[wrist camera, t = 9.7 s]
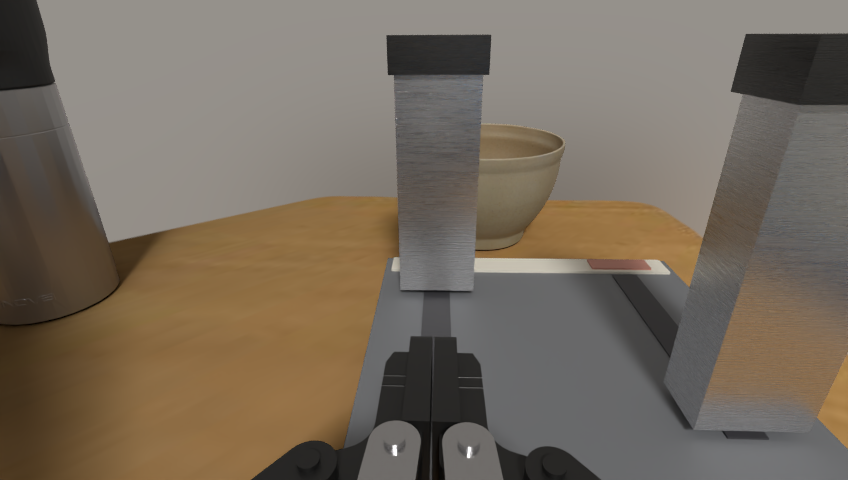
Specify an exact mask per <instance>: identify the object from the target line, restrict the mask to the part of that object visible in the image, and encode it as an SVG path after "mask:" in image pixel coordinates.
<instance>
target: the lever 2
mask: <svg viewBox="0 0 848 480" xmlns="http://www.w3.org/2000/svg"><path fill="white" fill-rule="evenodd" d="M731 92H736V93H740V94H743V96H742V100H741V103H740V107H739V111H738V114H737V118H736V122H735V125H734V129H733V133H732V136H731V140H730V143H729V147H728V151H727V154H726V158H725V162H724V165H723V169H722V173H721V176H720V179H719V183H718V187H717V190H716V194H715V198H714V201H713V205H712V209H711V212H710V216H709V219H708V223H707V227H706V230H705V234H704V237H703V241H702V245H701V248H700V252H699V255H698V259H697V263H696V266H695V270H694V274H693V277H692V281H691V284H690V288H689V292H688V295H687V299H686V303H685V306H684V310H683V313H682V317H681V321H680V324H679V328H678V331H677V335H676V339H675V342H674V346H673V350H672V353H671V357H670V360H669V364H668V368H667V371H666V375H665V379H664V382H663V383H664V384H665V386H666V387H667V389H668V391H669V392H670V394H671V395H672V397H673V398H674V400H675V402H676V403H677V405H678V406H679V408H680V409H681V411H682V412H683V414H684V416H685V417H686V419H687V420H688V422H689V423H690V425H691V427H692V428H693V430H716V431H760V432H804V433H809V432H810V430H811V428H812V426H813V424H814V422H815V420H816V418H817V416H818V413H819V411H820V409H821V407H822V405H823V403H824V401H825V399H826V397H827V395H828V392H829V390H830V388H831V386H832V384H833V382H834V380H835V378H836V376H837V374H838V372H839V369H840V367H841V365H842V363H843V361H844V359H845V357H846V355H847V353H848V33H846V34H845V33H843V34H842V33H838V34H837V33H836V34H835V33H833V34H746V36H745V40H744V43H743V47H742V51H741V55H740V58H739V62H738V66H737V70H736V73H735V77H734V81H733V85H732V89H731Z"/></svg>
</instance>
